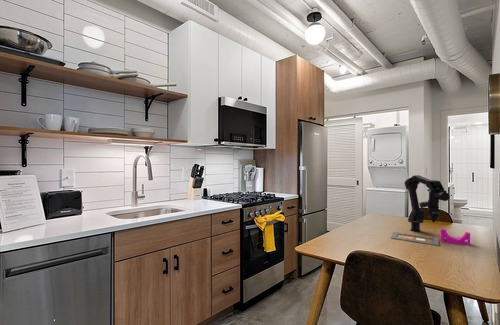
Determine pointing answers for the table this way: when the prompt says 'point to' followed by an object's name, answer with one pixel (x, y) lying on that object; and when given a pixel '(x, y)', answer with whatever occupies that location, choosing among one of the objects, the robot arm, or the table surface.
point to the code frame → (435, 240)
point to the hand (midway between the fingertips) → (433, 220)
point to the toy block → (449, 239)
